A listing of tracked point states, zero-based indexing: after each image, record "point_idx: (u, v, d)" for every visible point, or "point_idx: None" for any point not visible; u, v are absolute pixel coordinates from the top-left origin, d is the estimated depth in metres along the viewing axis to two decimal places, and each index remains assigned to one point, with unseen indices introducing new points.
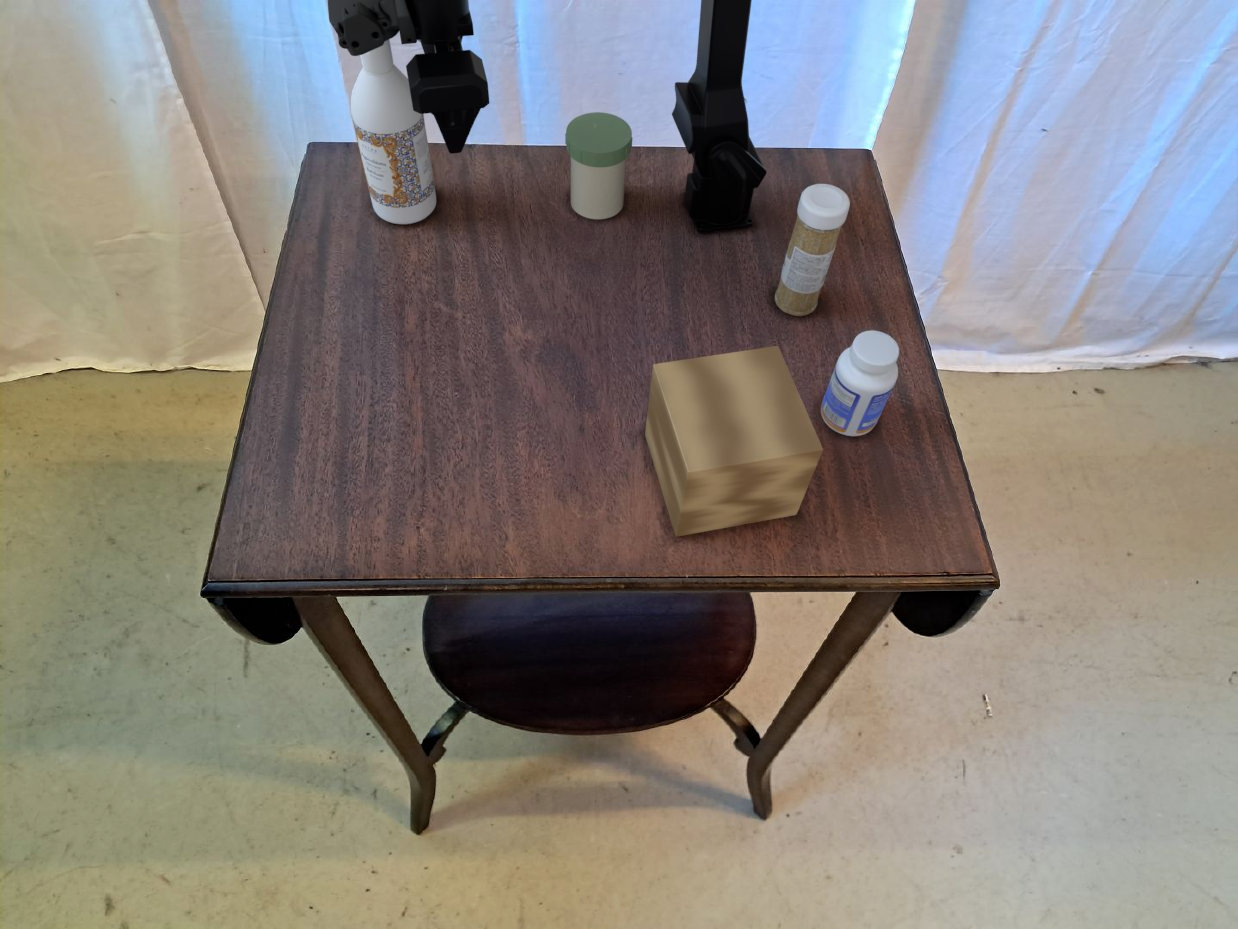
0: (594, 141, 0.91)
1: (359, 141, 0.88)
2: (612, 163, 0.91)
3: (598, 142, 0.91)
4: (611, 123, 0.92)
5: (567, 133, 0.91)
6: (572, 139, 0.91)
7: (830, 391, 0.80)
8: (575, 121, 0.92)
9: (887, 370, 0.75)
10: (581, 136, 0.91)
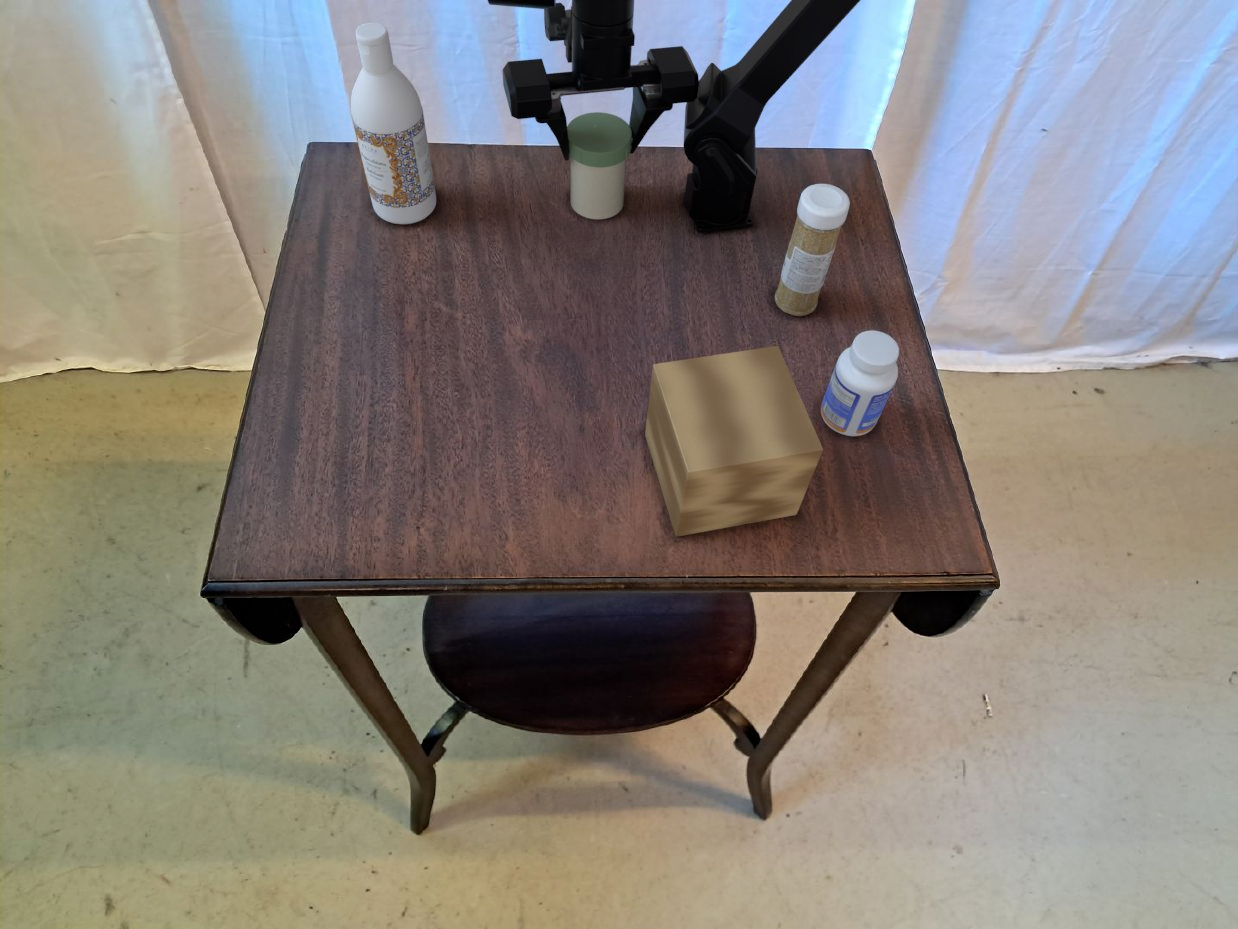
0: (594, 141, 0.91)
1: (359, 141, 0.88)
2: (612, 163, 0.91)
3: (598, 142, 0.91)
4: (611, 123, 0.92)
5: None
6: (572, 139, 0.91)
7: (830, 391, 0.80)
8: (575, 121, 0.92)
9: (887, 370, 0.75)
10: (581, 136, 0.91)
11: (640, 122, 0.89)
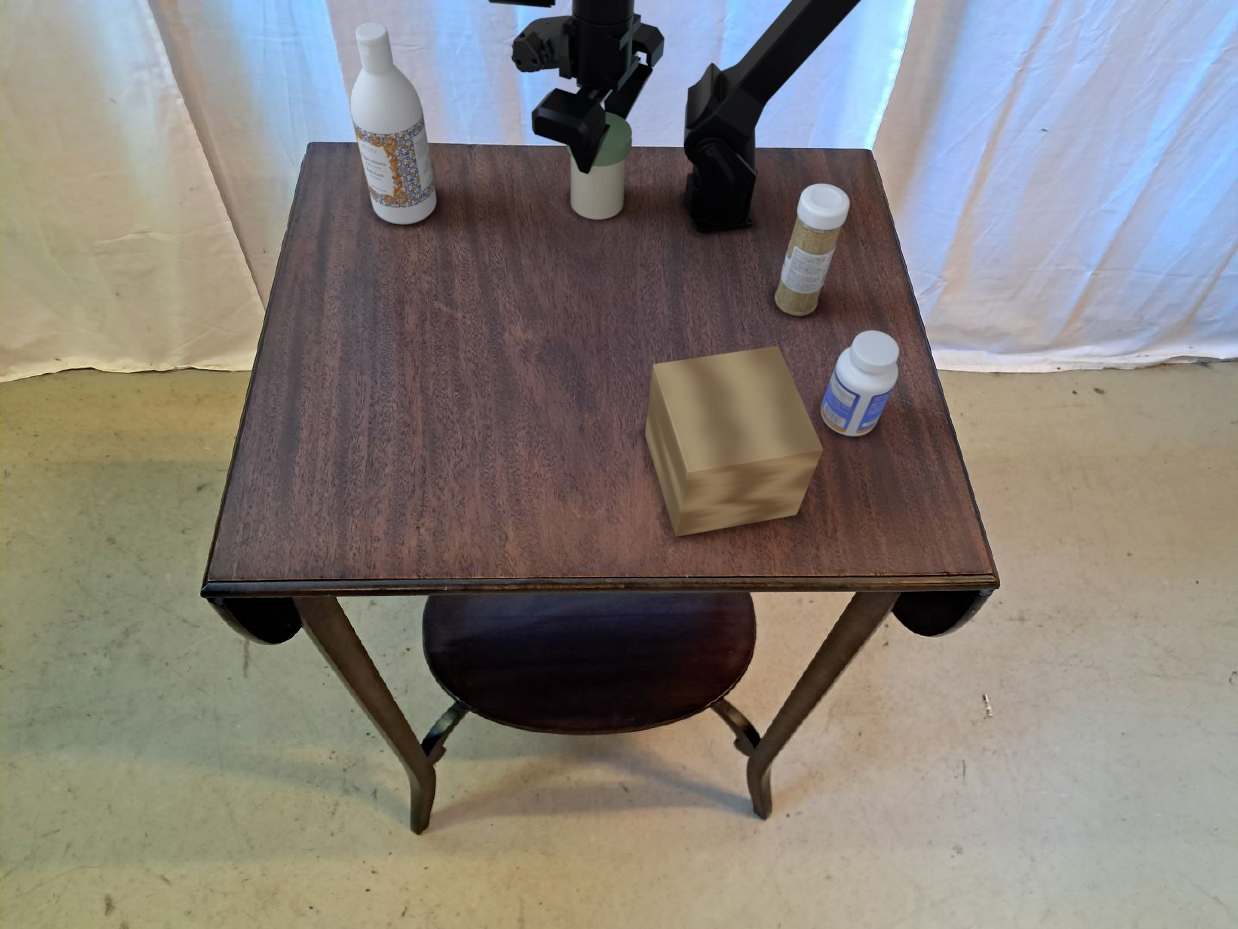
0: (608, 139, 0.91)
1: (359, 141, 0.88)
2: (630, 148, 0.92)
3: (612, 137, 0.91)
4: None
5: None
6: None
7: (830, 391, 0.80)
8: None
9: (887, 370, 0.75)
10: None
11: (633, 98, 0.91)
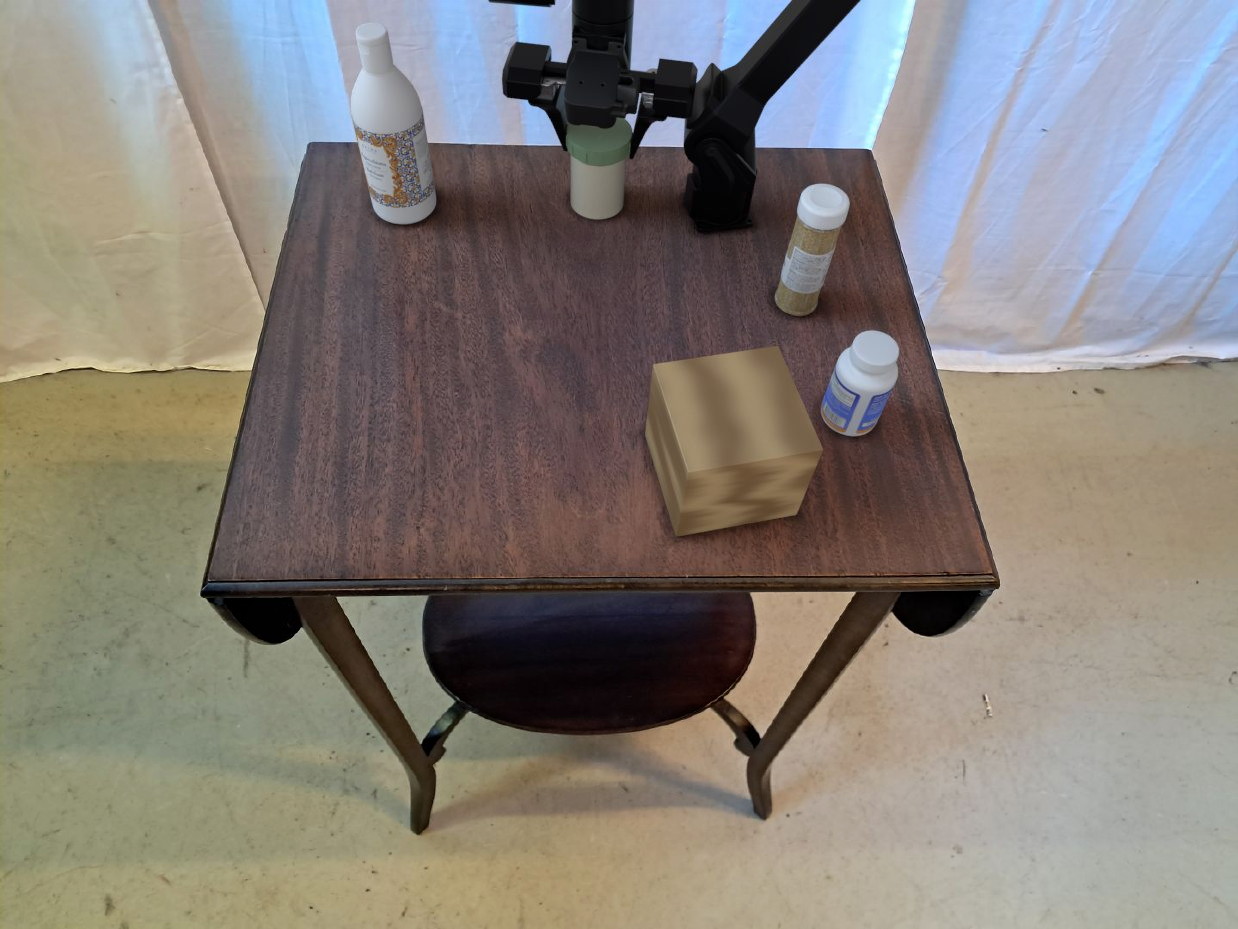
0: None
1: (359, 141, 0.88)
2: None
3: None
4: (582, 135, 0.91)
5: (630, 136, 0.91)
6: (628, 129, 0.92)
7: (830, 391, 0.80)
8: (616, 145, 0.90)
9: (887, 370, 0.75)
10: (618, 130, 0.92)
11: None
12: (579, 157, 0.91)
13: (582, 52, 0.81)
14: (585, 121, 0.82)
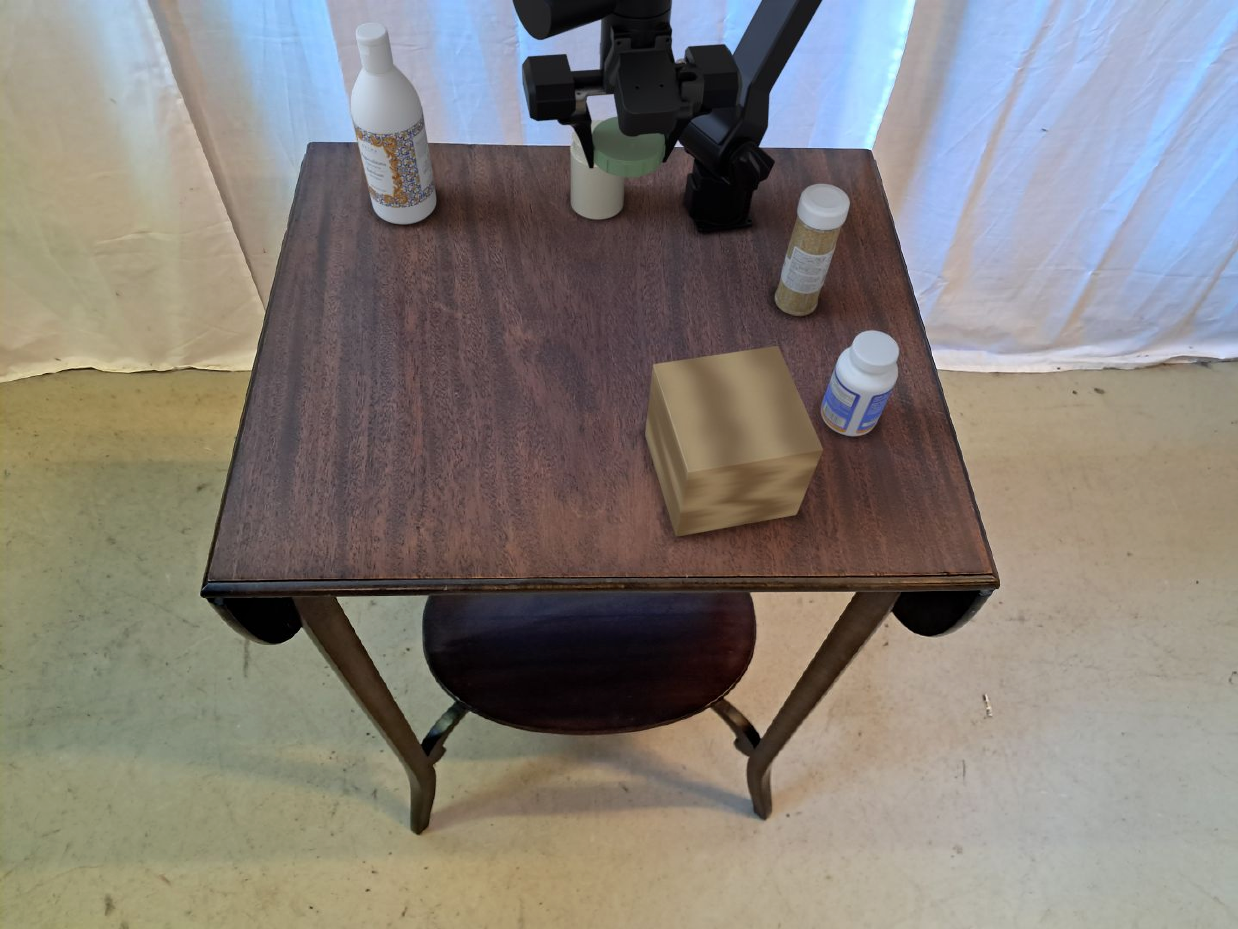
0: None
1: (359, 141, 0.88)
2: None
3: None
4: (613, 147, 0.81)
5: (663, 137, 0.82)
6: None
7: (830, 391, 0.80)
8: (654, 150, 0.81)
9: (887, 370, 0.75)
10: None
11: None
12: (616, 171, 0.81)
13: (626, 53, 0.71)
14: (646, 130, 0.72)
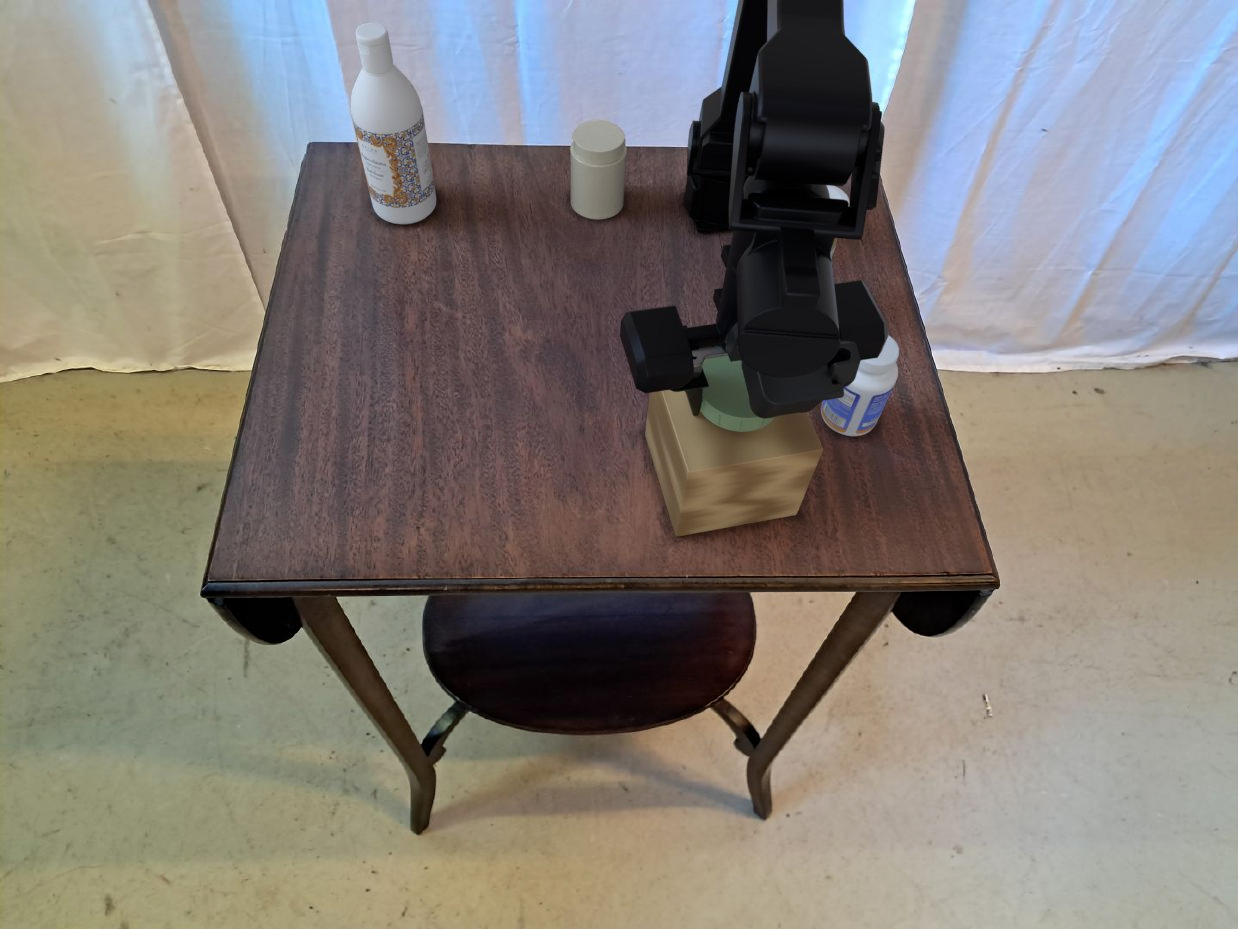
0: None
1: (359, 141, 0.88)
2: None
3: (740, 365, 0.69)
4: (726, 397, 0.68)
5: None
6: None
7: None
8: None
9: (887, 370, 0.75)
10: None
11: None
12: (730, 427, 0.68)
13: None
14: (785, 412, 0.59)
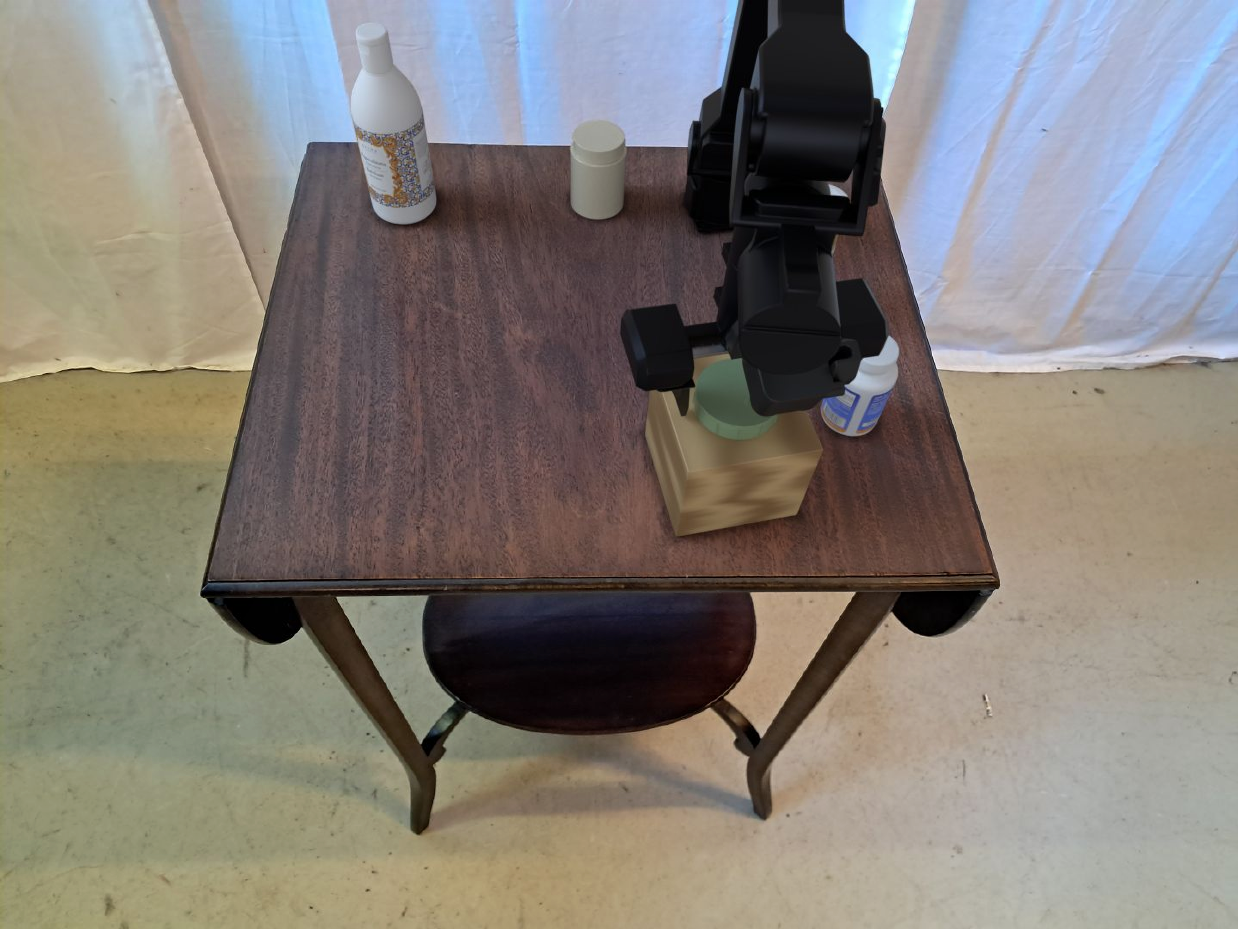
0: (743, 375, 0.70)
1: (359, 141, 0.88)
2: None
3: (737, 374, 0.70)
4: (724, 406, 0.68)
5: None
6: None
7: None
8: None
9: (887, 370, 0.75)
10: None
11: None
12: (728, 435, 0.68)
13: None
14: (786, 410, 0.59)
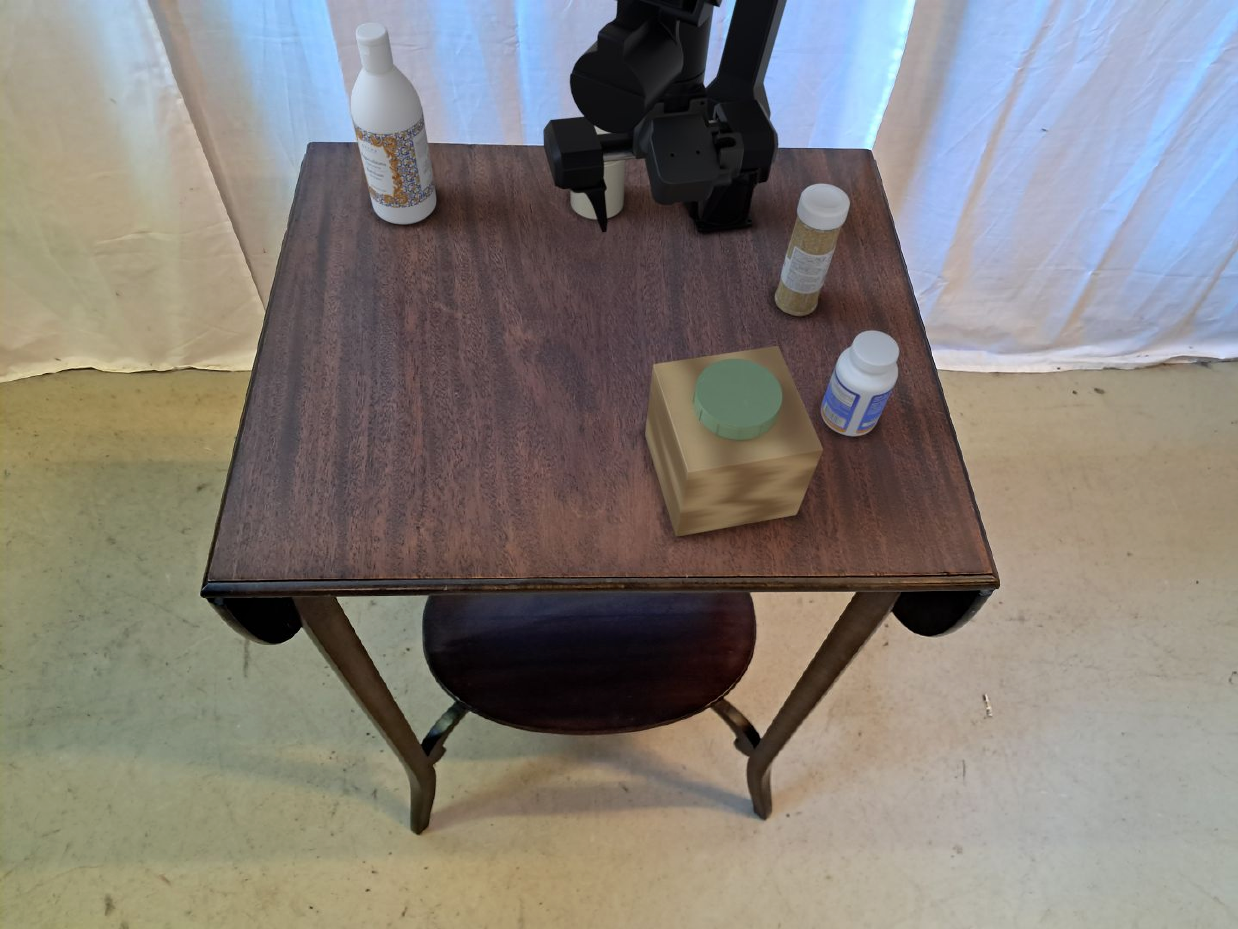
0: (743, 375, 0.70)
1: (359, 141, 0.88)
2: None
3: (737, 374, 0.70)
4: (724, 406, 0.68)
5: (779, 388, 0.70)
6: (771, 378, 0.70)
7: (830, 391, 0.80)
8: (772, 409, 0.68)
9: (887, 370, 0.75)
10: (760, 383, 0.70)
11: None
12: (728, 435, 0.68)
13: (659, 118, 0.67)
14: (681, 198, 0.68)
